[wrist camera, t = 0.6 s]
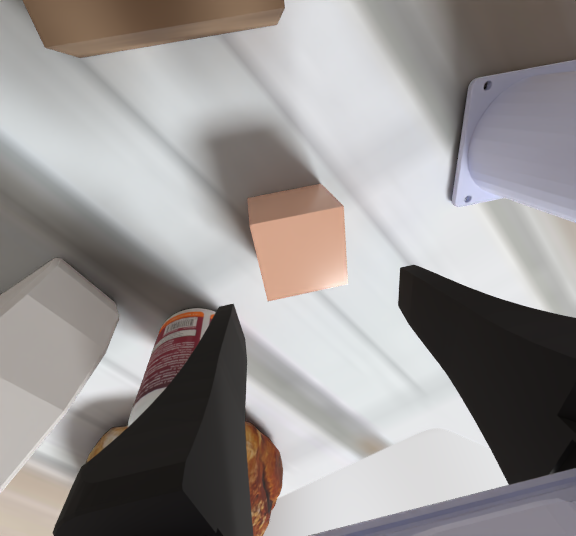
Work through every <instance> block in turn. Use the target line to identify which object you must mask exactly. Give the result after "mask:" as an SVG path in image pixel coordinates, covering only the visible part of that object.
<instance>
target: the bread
mask: <svg viewBox="0 0 576 536" xmlns="http://www.w3.org/2000/svg"><path fill="white" fill-rule="evenodd" d="M127 428H128V425H127V426H123V427H113V428H111V429H110V430H109V431H108V432H107V433H105V434H104V435H103V437H102V438H101V439H100V440H99V442H98V443H97V444H96V446H95V447H94V448H93V450H92V451H91V453H90V454H89V456H88V459H87V461H86V463H87V462H88V461H90V460H91V459H92V458H93V457H94V456H95V455H97V454H98V453H99V452H100V451H101V450H103V449H104V448H105V447H106V446H107V445H109V444H110V443H111V442H112V441H113V440H114V439H116V438H117V437H118V436H119V435H120V434H121V433H122V432H123V431H124V430H125V429H127ZM245 431H246V449H247V463H248V478H249V490H250V502H251V514H252V524H253V535H254V536H263V534H264V532H265V530H266V528H267V526H268V524H269V518H270V514H271V510H272V509H273V508H274V506H275V504H276V500H277V497H278V496H279V494H280V491H281V488H282V477H283V467H282V460H281V456H280V452H279V451H278V449H277V448H276V447H275V446H274V444H273V443H272V442H271V440H270V439H269V438H268V437H267V436H265V435H264V434H262V433H261V432H260V431H259V430H258V429H257V428H256V427H255V426H254V425H253V424H252V423H249V422H246V421H245Z"/></svg>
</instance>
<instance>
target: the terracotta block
mask: <svg viewBox="0 0 576 536" xmlns="http://www.w3.org/2000/svg"><path fill="white" fill-rule="evenodd" d="M247 200H248V212H249V225H250V229H251V233H252V238H253V242H254V246H255V250H256V254H257V258H258V262H259V267H260V271H261V275H262V279H263V283H264V287H265V291H266V296H267V300H268V301H272V300H276V299H281V298H286V297H290V296H295V295H300V294H304V293H309V292H314V291H318V290H323V289H328V288H332V287H337V286H342V285H346V284H348V276H347V259H346V241H345V223H344V206H343V205H342V204H341V203H340V202H339V201H338V200H337V199H336V198H335V197H334V196H333V195H332V194H331V193H330V192H329V191H328V190H327V189H326V188H325V187H324V186H323V185H322V184H316V185H311V186H306V187H301V188H296V189H291V190H286V191H280V192H275V193H270V194H265V195H260V196H255V197H250V198H247Z"/></svg>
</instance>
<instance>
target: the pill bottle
mask: <svg viewBox="0 0 576 536" xmlns="http://www.w3.org/2000/svg"><path fill="white" fill-rule="evenodd" d="M215 313H216V312H214V311H212V310H208V309H202V308H193V309H187V310H183V311H180V312H178V313H176V314H174V315H172V316H171V317H170V318H168V319H167V320H166V321H165V323H164V324H163V325H162V327H161V329H160V331H159V334H158V337H157V339H156V342H155V345H154V348H153V351H152V354H151V357H150V360H149V363H148V366H147V369H146V371H145V374H144V377H143V380H142V383H141V386H140V389H139V391H138V394H137V397H136V400H135V403H134V405H133V408H132V410H131V415H130V418H129V421H128V427H129V426H130V425H131V424H132V423H133V422H134V421H135V420H136V419H137V418H138V417H139V416H140V415H141V414H142V413H143V412H144V411H145V410H146V409H147V408H148V407H149V406H150V405H151V404H152V403H153V402H154V400H155V399H156V398H157V397H158V396H159V395H160V394H161V393H162V392H163V391H164V390H165V388H166V387H167V386H168V385H169V384H170V383H171V381H172V380H173V379H174V378H175V376H176V375H177V374H178V372H179V371H180V370H181V368H182V367H183V366H184V364H185V363H186V361H187V360H188V358H189V357H190V355H191V354H192V352H193V351H194V349H195V348H196V346H197V345H198V343H199V341H200V340H201V338H202V336H203V335H204V333H205V331H206V329H207V328H208V326H209V324H210V322H211V320H212V318H213V317H214V315H215Z"/></svg>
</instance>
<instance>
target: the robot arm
mask: <svg viewBox="0 0 576 536" xmlns="http://www.w3.org/2000/svg"><path fill="white" fill-rule="evenodd" d="M486 82H487V87H486V89H485V90H484V84H485V83H486ZM467 196H468V198H467V199H466V200H465V198H466V197H467ZM501 198H506V199H509V200H512V201H515V202H518V203H521V204H523V205H526V206H529V207H532V208H535V209H538V210H540V211H543V212H546V213H549V214H552V215H555V216H557V217H560V218H563V219H566V220H569V221H572V222H574V223H576V60H571V61H565V62H560V63H554V64H549V65H543V66H538V67H533V68H527V69H522V70H516V71H511V72H505V73H500V74H494V75H489V76H484V77H478V78H475V79H474V80H473V81H471V83H470V85H469V87H468V93H467V100H466V106H465V113H464V120H463V127H462V134H461V141H460V148H459V155H458V162H457V168H456V175H455V182H454V189H453V196H452V204H453V205H454V206H456V207H462V206H467V205H472V204H477V203H482V202H487V201H492V200H496V199H501ZM398 306H399V308H400V309H401V311H402V313H403V315H404V317H405V318H406V320H407V322H408V324H409V325H410V326H411V328H412V329H413V330H414V332H415V333H416V334H417V336H418V337H419V338H420V340H421V341H422V342H423V344H424V345H425V346H426V347H427V349H428V350H429V351H430V353H431V354H432V355H433V356H434V358H435V359H436V360H437V362H438V363H439V364H440V366H441V367H442V368H443V370H444V371H445V372H446V374H447V375H448V377H449V378H450V380H451V382H452V383H453V385H454V386H455V388H456V390H457V391H458V393H459V394H460V396H461V398H462V399H463V401H464V403H465V404H466V406H467V408H468V410H469V411H470V413H471V415H472V416H473V418H474V420H475V421H476V423H477V425H478V427H479V429H480V431H481V432H482V434H483V436H484V438H485V440H486V441H487V443H488V445H489V447H490V449H491V451H492V453H493V455H494V456H495V458H496V460H497V462H498V464H499V466H500V468H501V470H502V472H503V474H504V476H505V478H506V480H507V482H508V484H509V485H507V486H503V487H499V488H495V489H491V490H487V491H483V492H479V493H475V494H471V495H468V496H463V497H459V498H455V499H452V500H448V501H444V502H440V503H436V504H432V505H428V506H424V507H420V508H416V509H412V510H408V511H404V512H400V513H396V514H392V515H388V516H384V517H380V518H376V519H372V520H369V521H364V522H361V523H357V524H353V525H349V526H345V527H341V528H337V529H333V530H329V531H325V532H321V533H318V534H313V535H309V536H576V318H573V317H568V316H563V315H558V314H554V313H550V312H546V311H542V310H537V309H533V308H530V307H526V306H522V305H519V304H516V303H512V302H509V301H506V300H502V299H499V298H496V297H493V296H490V295H488V294H485V293H482V292H480V291H477V290H474V289H472V288H469V287H467V286H464V285H462V284H459V283H457V282H454V281H452V280H450V279H447V278H445V277H443V276H440V275H438V274H436V273H433V272H431V271H429V270H426V269H424V268H421V267H419V266H416V265H411V266H406V267H401V268H400V281H399V301H398ZM246 376H247V355H246V343H245V337H244V334H243V331H242V328H241V325H240V322H239V319H238V316H237V313H236V310H235V307H234V304H230V305H225V306H221V307H219V308H218V309H217V311H216V313H215V315H214V317H213V318H212V320H211V322H210V324H209V326H208V328H207V329H206V331H205V333H204V335H203V336H202V338H201V340H200V341H199V343H198V345H197V346H196V348H195V349H194V351H193V352H192V354H191V355H190V357H189V358H188V360H187V361H186V363H185V364H184V366H183V367H182V368H181V370H180V371H179V372H178V374H177V375H176V376H175V378H174V379H173V380H172V381H171V383H170V384H169V385H168V386H167V387H166V388H165V390H164V391H163V392H162V393H161V394H160V395H159V396H158V397H157V398H156V399H155V400H154V402H153V403H152V404H151V405H150V406H149V407H148V408H147V409H146V410H145V411H144V412H143V413H142V414H141V415H140V416H139V417H138V418H137V419H136V420H135V421H134V422H133V423H132V424H131V425H130V426H129V427H128V428H127V429H125V430H124V431H123V432H122V433H121V434H120V435H119V436H118V437H117V438H116V439H114V440H113V441H112V442H111V443H110V444H109V445H107V446H106V447H105V448H104V449H103V450H101V451H100V452H99V453H98V454H97V455H95V456H94V457H93V458H92V459H91V460H90V461H88V462H87V463H86V464H85V465H83V466H82V467H81V469H80V471H79V473H78V475H77V477H76V479H75V481H74V483H73V486H72V488H71V490H70V493H69V495H68V497H67V499H66V502H65V504H64V506H63V509H62V511H61V513H60V516H59V518H58V520H57V523H56V525H55V528H54V530H53V535H54V536H254V535H253V524H252V514H251V502H250V490H249V478H248V463H247V449H246V431H245V401H246Z"/></svg>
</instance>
